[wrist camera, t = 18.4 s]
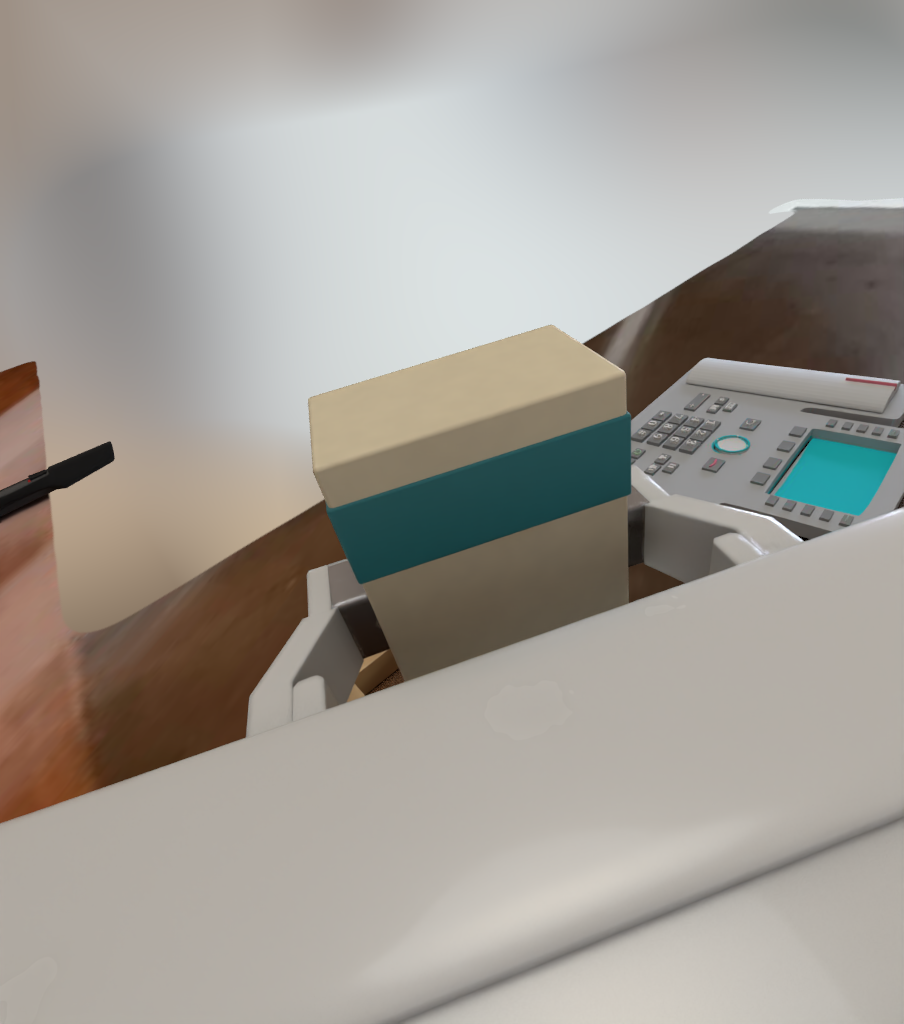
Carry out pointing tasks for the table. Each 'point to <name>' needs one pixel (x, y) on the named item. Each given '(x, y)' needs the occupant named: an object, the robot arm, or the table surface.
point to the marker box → (480, 494)
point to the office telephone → (777, 443)
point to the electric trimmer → (55, 477)
